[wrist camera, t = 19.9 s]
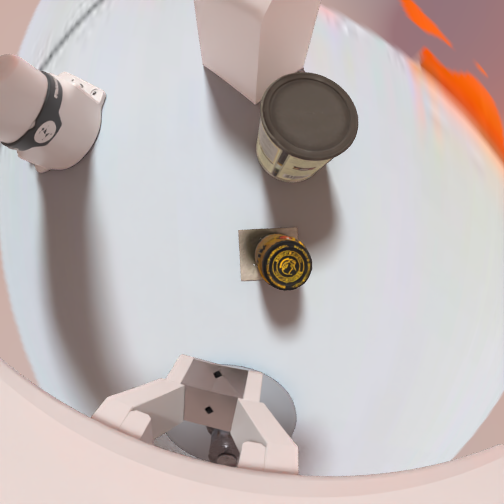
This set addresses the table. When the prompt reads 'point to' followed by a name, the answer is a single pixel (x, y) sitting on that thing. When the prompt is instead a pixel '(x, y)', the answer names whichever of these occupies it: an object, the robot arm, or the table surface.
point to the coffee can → (303, 125)
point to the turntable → (272, 395)
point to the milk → (254, 40)
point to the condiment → (274, 257)
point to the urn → (222, 448)
